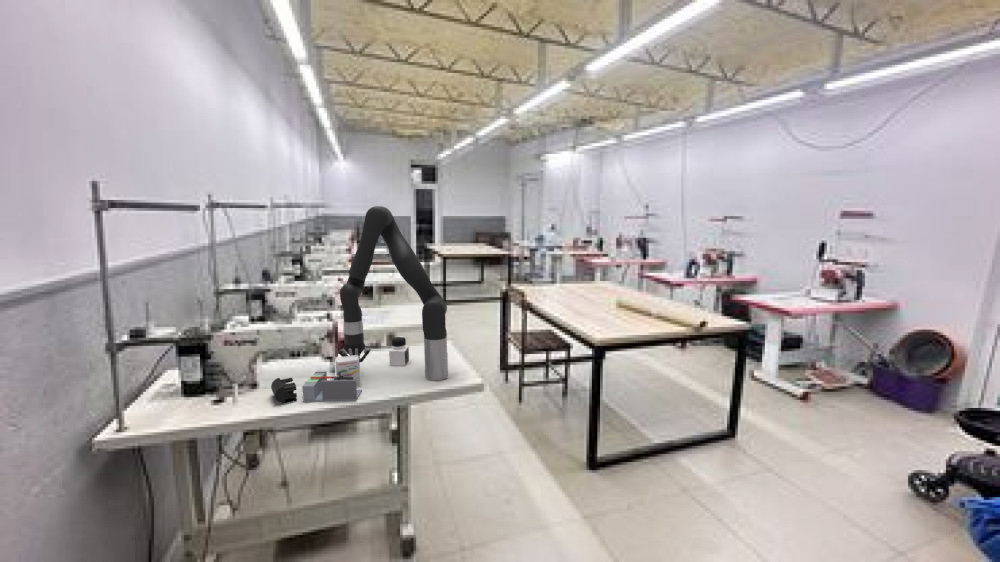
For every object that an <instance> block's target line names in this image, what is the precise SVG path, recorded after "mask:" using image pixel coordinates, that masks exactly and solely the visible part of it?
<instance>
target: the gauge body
mask: <svg viewBox="0 0 1000 562" xmlns="http://www.w3.org/2000/svg"><path fill="white" fill-rule="evenodd" d="M327 374H328V373H327V371H315V372H314V373H313V374H312V375H311V376H310V377H309V378H308V379H307V380H306V381H305V382H304V384H302V386H301V387H302V388H301V389H302V399H303V403H321V402H322V403H324V402H325V403H326V402H327V403H328V402H329V403H330V402H332V403H333V402H357V401H358V400H359V398H360V396H361V395H362V393H363V389H357V388H358V387H357V388H356V380H334V379H311V377H321V376H328V375H327ZM358 397H359V398H358ZM356 400H357V401H356Z"/></svg>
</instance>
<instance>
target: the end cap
mask: <svg viewBox="0 0 1000 562" xmlns="http://www.w3.org/2000/svg"><path fill="white" fill-rule="evenodd" d="M293 381H294V380H293V377H287V378H282V379H281V378H280V377H277V378H275V379H274V380H273V381H272V382H271V385H270V388H271V392H272V394H273V396H274V399H275V400H276V401H277V402H278V403H280V404H283V405H285V404H290V403H294V402H297V401H298V398H297V397H298V394H297V392H295V391H297V385H296V383H295V382H293Z"/></svg>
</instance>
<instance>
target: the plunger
mask: <svg viewBox="0 0 1000 562" xmlns="http://www.w3.org/2000/svg"><path fill="white" fill-rule="evenodd" d="M310 377H311V376H310ZM311 379H327V380H331V379H333V380H354V378H353V377H337V376H336V375H334V376H333V375H332V376H329V375H327V376H321V377H311Z"/></svg>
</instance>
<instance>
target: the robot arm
mask: <svg viewBox="0 0 1000 562" xmlns="http://www.w3.org/2000/svg"><path fill="white" fill-rule="evenodd" d="M380 237H382V239H383V241H384V242H385V244H386V245H387V250H388V252H389V255H390V257H391V260H392V262H393V264H394V267H395V268H396V270H397V271H398V273H399V274H400V276H401V277H402V279H403V280H404V281H405V282H406V283H407V284H408V285H409V286H410V287H411V288H412V289H413V290H414V291H415V293H416V294H417V295H418V297H419V298H420V300H421V303H422V304H423V306H422V308H421V309H422V310H421V319H422V321H421V323H422V331H423V342H424V343H423V345H424V346H423V347H424V348H423V349H424V350H423V351H424V376H425V379H426V380H428V381H432V382H433V381H443V380H447V379H448V375H449V365H448V364H449V359H448V358H449V357H448V356H449V355H448V340H447V339H448V338H447V337H448V333H447V328H446V324H447V323H446V314H447V310H448V306H447V303H446V301H445V299H444V298H443V296H441V294H440V293H439V291H438V290H437V288H436V287H435V286H434V285H433V283H432V282H431V279H430V277H429V275H428V273H427V272H426V270H425V268H424V267H423V265H422V262H420V260H419V258H418V256H417V255H416V253H415V252H414V250H413V248H412V247H411V245H410V244H409V242H408V241H407V240H406V238H405V237H404V235H403V234H402V232H401V231H400V228H399V226H398V224H397V222H396V220H395V218H394V215H393V214H392V212H391V211H390V209H388V208H387V207H385V206H382V205H381V206H380V205H376V206H375V205H374V206H372V207H370V208H369V209H368V210H367V211H366V213H365V216H364V222H363V228H362V232H361V236H360V239H359V243H358V246H357V249H356V252H355V254H354V256H353V259H352V262H351V264H350V268H349V271H348V274H349V276H348V278H347V281H346V283H345V284H343V286H342V287H341V289H340V290H339V291H340V292H339V299H340V303H341V308H342V310H343V311H342V312H343V338H344V340H343V342H344V345H343V348H341V349H339V351H338V354H339V355H340V357H345V356H354V355H358V357H359V365H361V363H363V362H364V361H365V359H366V358H367V356H369V353H370V352H371V351H372V349H371V348H368V347H366V344H365V337H364V323H363V314H362V308H361V306H360V305H359V303H360V302H359V297H360V296H362V293H363V290H364V286H365V285H366V283H365V282H366V279H367V277H368V274H369V272H370V269H371V266H372V264H373V260H374V256H375V249H376V246H377V243H378V240H379V239H380ZM362 353H363V355H362V356H361V354H362Z"/></svg>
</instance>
